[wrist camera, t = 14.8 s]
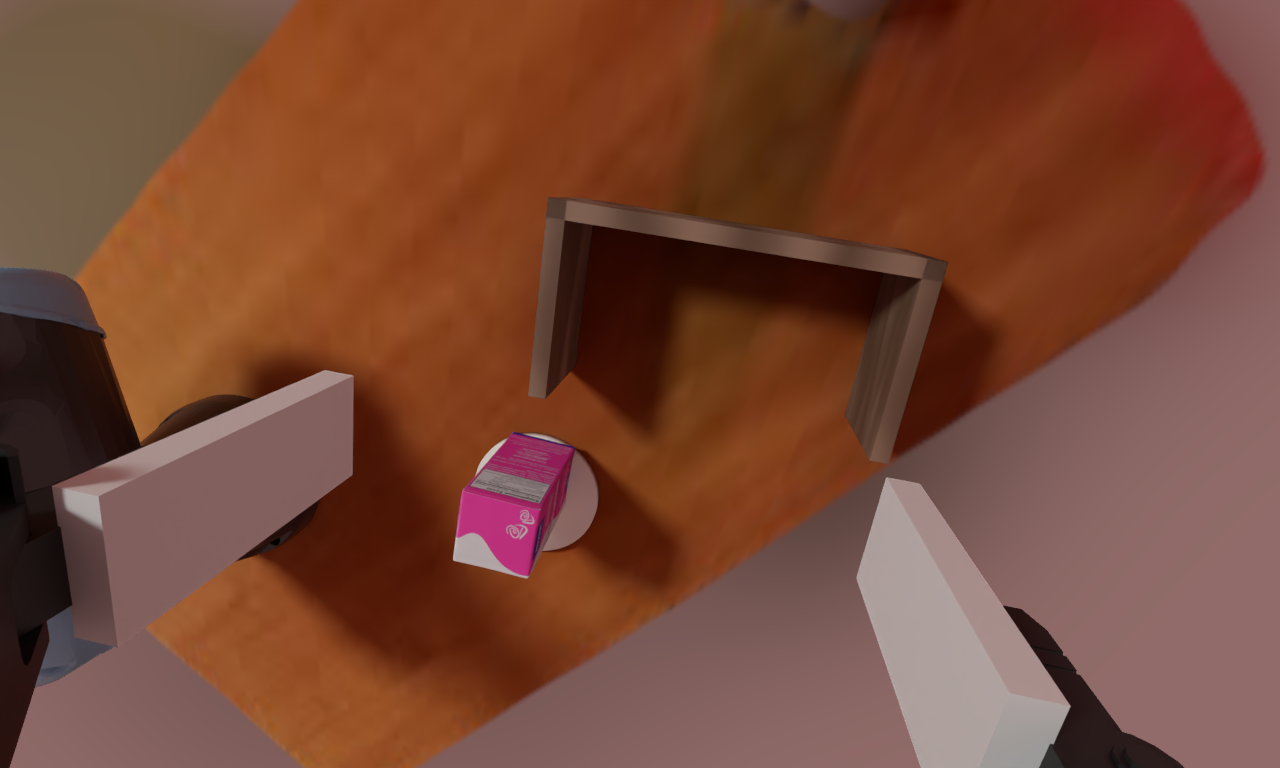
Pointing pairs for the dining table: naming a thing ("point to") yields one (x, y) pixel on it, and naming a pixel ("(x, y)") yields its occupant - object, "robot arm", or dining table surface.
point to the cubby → (900, 293)
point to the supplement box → (513, 505)
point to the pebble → (568, 498)
